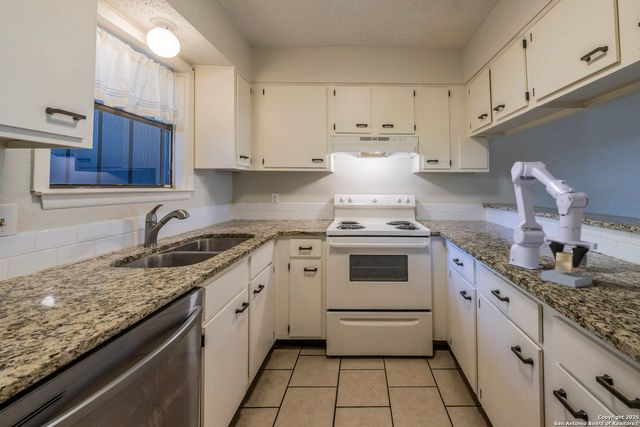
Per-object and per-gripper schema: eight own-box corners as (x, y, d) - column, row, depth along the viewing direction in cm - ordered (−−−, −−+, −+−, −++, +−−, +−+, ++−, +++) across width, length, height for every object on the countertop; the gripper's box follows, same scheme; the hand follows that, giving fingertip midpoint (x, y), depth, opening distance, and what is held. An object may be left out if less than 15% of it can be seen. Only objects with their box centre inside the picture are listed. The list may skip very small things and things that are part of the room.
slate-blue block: (540, 279, 99) (541, 271, 99) (557, 276, 103) (558, 268, 102) (574, 289, 90) (575, 280, 89) (591, 285, 93) (592, 276, 93)
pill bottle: (587, 269, 109) (589, 245, 108) (583, 272, 106) (585, 247, 105) (570, 266, 114) (571, 243, 113) (565, 268, 111) (567, 245, 110)
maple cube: (555, 269, 97) (556, 252, 97) (563, 267, 99) (564, 251, 98) (570, 272, 93) (571, 255, 92) (578, 271, 94) (579, 254, 94)
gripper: (604, 229, 89) (600, 269, 90) (553, 224, 103) (550, 259, 104) (591, 230, 87) (588, 272, 88) (541, 225, 100) (538, 261, 101)
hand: (566, 265), depth 96 cm, fingers closed on maple cube, 4 cm apart
